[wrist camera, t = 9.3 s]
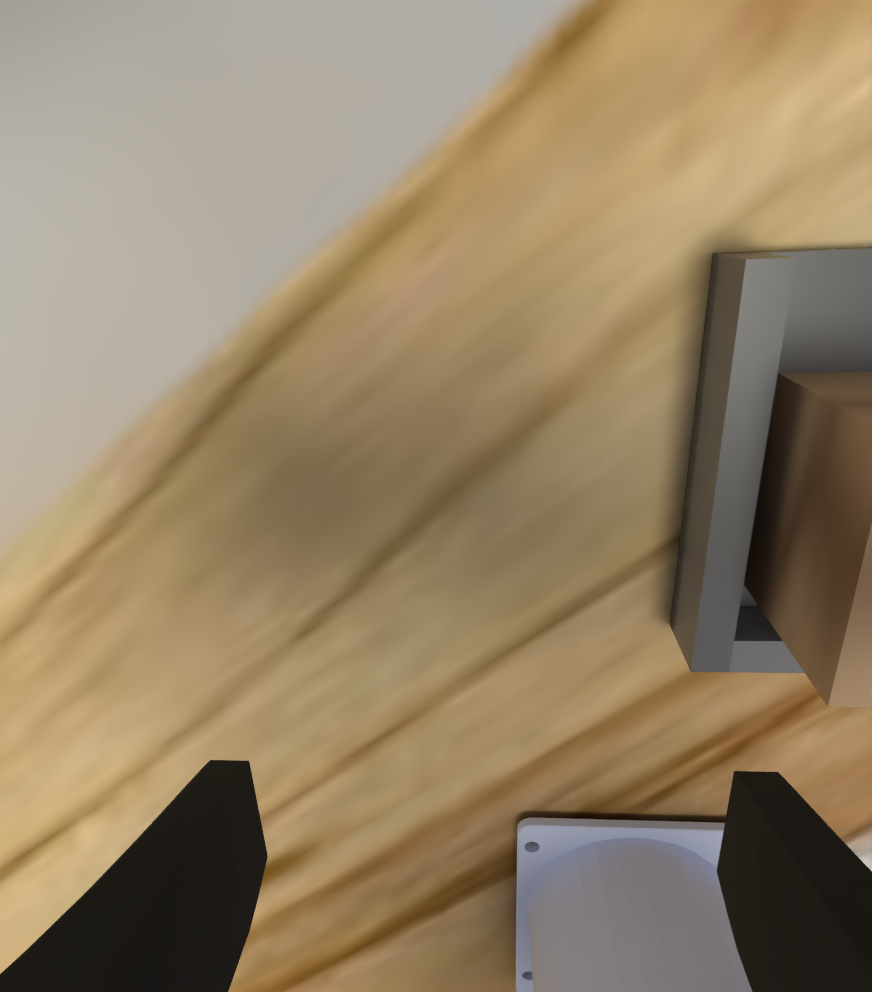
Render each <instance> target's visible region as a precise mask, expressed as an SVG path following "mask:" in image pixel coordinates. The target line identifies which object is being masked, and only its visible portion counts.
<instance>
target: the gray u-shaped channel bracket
mask: <svg viewBox="0 0 872 992" xmlns="http://www.w3.org/2000/svg"><path fill="white" fill-rule="evenodd" d="M852 371H872V247H868V248H841V249H814V250H787V251H760V252H733V253H713V258H712V266H711V275H710V284H709V292H708V301H707V310H706V318H705V327H704V336H703V344H702V353H701V362H700V370H699V379H698V388H697V396H696V405H695V414H694V422H693V431H692V440H691V448H690V457H689V466H688V474H687V483H686V491H685V500H684V509H683V517H682V526H681V535H680V543H679V552H678V561H677V569H676V578H675V587H674V595H673V604H672V613H671V621H670V626H671V628H672V631H673V633H674V635H675V637H676V640H677V642H678V644H679V646H680V649H681V651H682V653H683V655H684V658H685V660H686V662H687V664H688V666H689V669H690V671H691V672H766V673H805V672H804V671H803V669H802V668H801V666H800V665H799V664H798V662H797V661H796V659H795V658H794V656H793V655H792V653H791V652H790V651H789V649H788V648H787V646H786V645H785V643H784V642H783V640H782V639H781V638H780V636H779V635H778V633H777V632H776V630H775V629H774V627H773V626H772V625H771V623H770V622H769V620H768V619H767V617H766V616H765V615H764V613H763V612H762V610H761V609H760V607H759V606H758V604H757V603H756V602H755V600H754V599H753V597H752V596H751V594H750V593H749V591H748V590H747V589H746V587H745V586H744V582H745V576H746V570H747V564H748V557H749V551H750V545H751V539H752V533H753V527H754V520H755V514H756V508H757V502H758V496H759V490H760V484H761V477H762V471H763V465H764V459H765V453H766V447H767V440H768V434H769V428H770V422H771V416H772V410H773V404H774V397H775V391H776V385H777V379H778V373H809V372H852Z"/></svg>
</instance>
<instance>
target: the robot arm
mask: <svg viewBox="0 0 872 992" xmlns="http://www.w3.org/2000/svg"><path fill="white" fill-rule="evenodd" d="M530 842H532V843H530ZM267 857H268V856H267V851H266V846H265V840H264V835H263V830H262V825H261V820H260V815H259V810H258V805H257V799H256V794H255V789H254V784H253V779H252V774H251V769H250V763H249V761H227V760H210V761H209V762H208V763H207V764H206V765H205V766H204V767H203V768H202V769H201V770H200V771H199V772H198V773H197V775H196V776H195V777H194V778H193V779H192V780H191V781H190V782H189V783H188V784H187V785H186V786H185V788H184V789H183V790H182V791H181V792H180V793H179V794H178V795H177V796H176V797H175V799H174V800H173V801H172V802H171V803H170V804H169V805H168V806H167V807H166V808H165V809H164V811H163V812H162V813H161V814H160V815H159V816H158V817H157V818H156V819H155V820H154V821H153V822H152V824H151V825H150V826H149V827H148V828H147V829H146V830H145V831H144V832H143V833H142V834H141V835H140V837H139V838H138V839H137V840H136V841H135V842H134V843H133V844H132V845H131V846H130V847H129V848H128V849H127V850H126V851H125V852H124V853H123V854H122V855H121V856H120V858H119V859H118V860H117V861H116V862H115V863H114V864H113V865H112V866H111V867H110V868H109V869H108V870H107V871H106V872H105V873H104V874H103V875H102V876H101V877H100V878H99V879H98V880H97V881H96V883H95V884H94V885H93V886H92V887H91V888H90V889H89V890H88V891H87V892H86V893H85V894H84V895H83V896H82V897H81V898H80V899H79V900H78V901H77V902H76V903H75V904H74V905H72V906H71V907H70V908H69V909H68V910H67V911H66V912H65V913H64V914H63V915H62V916H61V917H60V918H59V919H58V920H57V921H56V922H55V923H54V924H53V925H52V926H51V927H50V928H49V929H48V930H47V931H46V932H45V933H44V934H43V935H42V936H41V937H39V938H38V939H37V940H36V941H35V942H34V943H33V944H32V945H31V946H30V947H29V948H28V949H27V950H26V951H25V952H24V953H23V954H22V955H21V956H20V957H18V958H17V959H16V960H15V961H14V962H13V963H12V964H11V965H10V966H9V967H8V968H6V969H5V970H4V971H3V972H2V973H1V974H0V992H228V990H229V988H230V985H231V982H232V979H233V976H234V973H235V971H236V968H237V965H238V962H239V959H240V956H241V954H242V951H243V948H244V945H245V942H246V939H247V936H248V933H249V930H250V927H251V923H252V919H253V915H254V911H255V907H256V903H257V899H258V895H259V891H260V887H261V882H262V878H263V874H264V870H265V865H266V861H267ZM515 984H516V992H872V871H871V870H870V869H869V868H868V867H867V866H866V865H865V864H864V863H863V862H862V861H861V860H860V859H859V858H858V857H857V856H856V855H855V854H854V853H853V851H852V850H851V849H850V848H849V847H848V846H847V845H846V844H845V843H844V842H843V841H842V840H841V839H840V838H839V837H838V836H837V834H836V833H835V832H834V831H833V830H832V829H831V828H830V827H829V826H828V825H827V824H826V823H825V822H824V821H823V819H822V818H821V817H820V816H819V815H818V814H817V813H816V812H815V811H814V810H813V809H812V808H811V807H810V805H809V804H808V803H807V802H806V801H805V800H804V799H803V798H802V797H801V796H800V795H799V794H798V793H797V791H796V790H795V789H794V788H793V787H792V786H791V785H790V784H789V783H788V782H787V781H786V780H785V779H784V778H783V777H782V776H781V775H780V774H779V773H778V772H747V771H734V775H733V781H732V787H731V792H730V798H729V803H728V809H727V815H726V820H725V823H716V822H679V821H642V820H605V819H568V818H526V819H524V820H521V821H520V823H519V824H518V827H517V886H516V977H515Z"/></svg>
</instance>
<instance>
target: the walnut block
mask: <svg viewBox="0 0 872 992" xmlns="http://www.w3.org/2000/svg"><path fill="white" fill-rule="evenodd" d="M744 586H745V587H746V589H747V590H748V591H749V593H750V594H751V596H752V597H753V599H754V600H755V602H756V603H757V604H758V606H759V607H760V609H761V610H762V612H763V613H764V615H765V616H766V617H767V619H768V620H769V622H770V623H771V625H772V626H773V627H774V629H775V630H776V632H777V633H778V635H779V636H780V638H781V639H782V640H783V642H784V643H785V645H786V646H787V648H788V649H789V651H790V652H791V653H792V655H793V656H794V658H795V659H796V661H797V662H798V664H799V665H800V666H801V668H802V669H803V671H804V672H805V674H806V675H807V677H808V678H809V679H810V681H811V682H812V684H813V685H814V687H815V688H816V690H817V691H818V692H819V694H820V695H821V697H822V698H823V700H824V701H825V703H826V704H827V705H828V706H849V707H872V371H852V372H809V373H778V379H777V385H776V391H775V397H774V404H773V410H772V416H771V422H770V428H769V434H768V440H767V447H766V453H765V459H764V465H763V471H762V477H761V484H760V490H759V496H758V502H757V508H756V514H755V520H754V527H753V533H752V539H751V545H750V551H749V557H748V564H747V570H746V576H745V582H744Z"/></svg>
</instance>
